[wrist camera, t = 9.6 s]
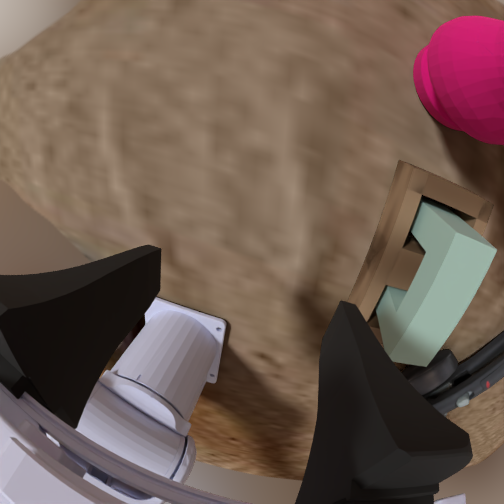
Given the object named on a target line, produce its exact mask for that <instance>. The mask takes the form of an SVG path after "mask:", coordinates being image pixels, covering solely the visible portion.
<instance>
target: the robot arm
mask: <svg viewBox="0 0 504 504" xmlns="http://www.w3.org/2000/svg"><path fill="white" fill-rule="evenodd" d="M160 277H161V248H158V247H155V246H151V245H145V246H141V247H137V248H134V249H131V250H128V251H125V252H122V253H119V254H116V255H113V256H110V257H107V258H104V259H101V260H98V261H94V262H91V263H88V264H85V265H81V266H78V267H73V268H69V269H65V270H59V271H53V272H47V273H39V274H29V275H0V504H164V503H165V502H169V503H171V504H252V503H247V502H242V501H238V500H233V499H230V498H226V497H222V496H219V495H215V494H212V493H208V492H205V491H201V490H199V489H196V488H192V487H190V486H187V485H184V483H185V482H186V480H187V478H188V477H189V475H190V473H191V471H192V468H193V465H194V463H195V459H196V447H195V442H194V439H193V438H192V437H191V436H189V435H187V434H188V431H189V429H190V427H191V424H190V423H189V422H188V421H189V419H190V417H191V414H192V412H193V410H194V408H195V405H196V403H197V401H198V399H199V396H200V394H201V392H202V390H203V387H204V385H205V383H206V381H207V382H210V383H216V381H217V376H218V371H219V365H220V359H221V353H222V347H223V342H224V336H225V330H226V322H225V321H224V320H223V319H220V318H217V317H213V316H210V315H207V314H204V313H201V312H198V311H195V310H192V309H189V308H186V307H183V306H180V305H177V304H174V303H171V302H169V301H166V300H163V299H160V298H157V297H156V296H157V295H158V293H159V291H160ZM144 314H145V322H146V325H145V326H144V328H143V329H142V330H141V331H140V333H139V334H138V335H137V337H136V338H135V339H134V341H133V342H132V343H131V344H130V346H129V347H128V348H127V350H126V351H125V352H124V354H123V355H122V356H121V358H120V359H119V360H118V362H117V363H116V364H115V366H114V367H113V368H112V370H111V371H109V370H106V371H105V373H104V374H103V375H102V377H101V378H100V379H99V377H100V375H101V373H102V371H103V370H104V368H105V366H106V364H107V363H108V361H109V360H110V358H111V356H112V355H113V353H114V351H115V350H116V349H117V347H118V346H119V344H120V343H121V342H122V341H123V339H124V338H125V337H126V336H127V335H128V333H129V332H130V331H131V330H132V328H133V327H134V326H135V325H136V324H137V322H138V321H139V320H140V319H141V318H142V316H143V315H144ZM218 327H219V328H221V329H219V328H218ZM472 457H473V454H472V448H471V443H470V438H469V434H468V433H467V432H465V431H464V430H463V429H461V428H460V427H458V426H457V425H456V424H454V423H453V422H451V421H450V420H449V419H447V418H446V417H445V416H444V415H442V414H441V413H440V412H439V411H438V410H436V409H435V408H434V407H433V406H432V405H431V404H430V403H429V402H428V401H427V400H426V399H425V398H424V397H423V396H422V395H421V394H420V393H419V392H418V391H417V390H416V389H415V388H414V387H413V386H412V385H411V384H410V383H409V382H408V380H407V379H406V378H405V377H404V375H403V374H402V373H401V372H400V371H399V369H398V368H397V367H396V366H395V364H394V363H393V362H392V360H391V359H390V357H389V356H388V354H387V353H386V352H385V350H384V349H383V347H382V346H381V344H380V343H379V341H378V339H377V338H376V336H375V335H374V333H373V331H372V330H371V328H370V327H369V325H368V323H367V322H366V320H365V318H364V317H363V315H362V314H361V312H360V310H359V309H358V307H357V306H356V304H352V303H349V302H345V301H340V303H339V305H338V307H337V310H336V312H335V314H334V316H333V318H332V320H331V322H330V324H329V326H328V329H327V331H326V333H325V335H324V337H323V339H322V345H321V352H320V359H319V390H318V412H317V421H316V426H315V432H314V437H313V442H312V447H311V451H310V455H309V460H308V463H307V467H306V471H305V474H304V478H303V482H302V485H301V488H300V491H299V493H298V497H297V499H296V502H295V504H466V497H465V494H464V493H462V494H459V495H455V496H450V497H446V498H442V499H439V500H436V501H434V496H433V494H436V493H438V491H439V482H441V481H443V480H445V479H447V478H448V477H450V476H452V475H453V474H455V473H457V472H458V471H460V470H461V469H463V468H464V467H465V466H466V465H467V464H468V463H469V462H470V461H471V459H472Z"/></svg>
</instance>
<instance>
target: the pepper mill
mask: <svg viewBox="0 0 504 504" xmlns="http://www.w3.org/2000/svg"><path fill="white" fill-rule="evenodd" d="M413 77H414V83H415V87H416V90H417V93H418V96H419V98H420V100H421V102H422V103H423V105H424V106H425V108H426V109H427V111H428V112H429V113H430V114H431V115H432V116H433V117H434V118H435V119H436V120H437V121H438V122H440V123H441V124H443V125H444V126H446V127H448V128H451V129H454V130H458V131H464V132H466V133H467V134H468V135H470V136H471V137H473V138H475V139H477V140H479V141H481V142H485V143H488V144H498V145H504V21H501V20H497V19H493V18H488V17H482V16H463V17H459V18H456V19H453V20H451V21H448V22H446V23H444V24H443V25H441V26H440V27H439V28H438V29H437V30H436V31H435V33H434V34H433V36H432V38H431V41H430V43H429V45H427V46H426V47H424V48H423V49H422V50H421V51H420V52H419V54H418V55H417V57H416V60H415V63H414V69H413Z"/></svg>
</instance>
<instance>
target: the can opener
mask: <svg viewBox="0 0 504 504" xmlns="http://www.w3.org/2000/svg"><path fill="white" fill-rule="evenodd" d="M402 374H403V375H404V377H405V378H406V379H407V380H408V382H409V383H410V384H411V385H412V386H413V387H414V388H415V389H416V390H417V391H418V392H419V393H420V394H421V395H422V396H423V397H424V398H425V399H426V400H427V401H428V402H429V403H430V404H431V405H432V406H433V407H434V408H435V409H436V410H438V411H439V412H440V413H441V414H442V415H444V416H445V417H446V415H447V412H449V411H451V410H453V409H455V408H457V407H463V406H466V405H468V404H469V400H471V399H473V398H474V397H476V396H478V395H479V394H481V393H482V392H484V391H486V390H487V389H488V388H490V387H491V386H493V385H494V384H495V383H497V382H498V381H499V380H500V379H502V378H503V377H504V331H503V332H502V333H501V334H500V335H499V336H497V337H496V338H495V339H494V340H493V341H491V342H490V343H489V344H488V345H487V346H485V347H484V348H483V349H482V350H481V351H479V352H478V353H476V354H475V355H474V356H473V357H471V358H470V359H468V360H467V361H465V362H463V363H462V364H459V365H458V361H457V359H456V358H455V356H454V355H453V353H452V352H451V351H450V350H441V351H438V352H437V354H436V355H435V356H434V358H433V359H432V360H431V362H430V363H429V364H428V365H427V367H424V366H417V365H411V366H410V367H408V368H407V369H405V370H404V371H403V372H402Z"/></svg>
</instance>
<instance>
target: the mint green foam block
mask: <svg viewBox="0 0 504 504" xmlns="http://www.w3.org/2000/svg"><path fill="white" fill-rule="evenodd" d="M410 231H411V232H412V234H413V235H414V236H415V238H416V239H417V240H418V242H419V243H420V244H421V246H422V247H423V248H424V250H425V251H426V254H425V256H424V258H423V260H422V262H421V265H420V267H419V269H418V271H417V273H416V275H415V277H414V279H413V281H412V283H411V285H410V287H409V289H408V291H406V290H402V289H399V288H395V287H391V286H388V285H385V287H384V290H383V292H382V294H381V296H380V298H379V300H378V302H377V304H376V306H375V308H376V312H377V317H378V321H379V326H380V331H381V335H382V340H383V346H384V350H385V352H386V353H387V354H388V356H389V357H390V359H391V360H392V361H393V362H398V363H405V364H411V365H417V366H424V367H427V365H428V364H429V363H430V362H431V360H432V359H433V358H434V356H435V355H436V354H437V352H438V351H439V350H440V348H441V347H442V345H443V344H444V343H445V341H446V340H447V338H448V337H449V335H450V334H451V332H452V331H453V329H454V328H455V326H456V325H457V323H458V322H459V320H460V319H461V317H462V315H463V314H464V312H465V311H466V309H467V307H468V305H469V304H470V302H471V300H472V299H473V297H474V295H475V293H476V291H477V290H478V288H479V286H480V284H481V282H482V280H483V278H484V276H485V274H486V272H487V270H488V268H489V266H490V264H491V262H492V260H493V258H494V256H495V254H496V251H497V249H496V248H494V247H493V246H492V245H491V244H490V243H489V242H488V241H487V240H486V239H485V238H483V237H482V236H481V235H480V234H479V233H478V232H477V231H475V230H474V229H473V228H472V227H471V226H469V225H468V224H467V223H466V222H465V221H463V220H462V219H461V218H460V217H458V216H457V215H456V214H455V213H453V212H452V211H451V210H449V209H448V208H447V207H445V206H443V205H440V204H438V203H435V202H433V201H431V200H428V199H426V198H423V197H421V199H420V202H419V205H418V208H417V211H416V214H415V216H414V219H413V222H412V224H411V227H410Z"/></svg>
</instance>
